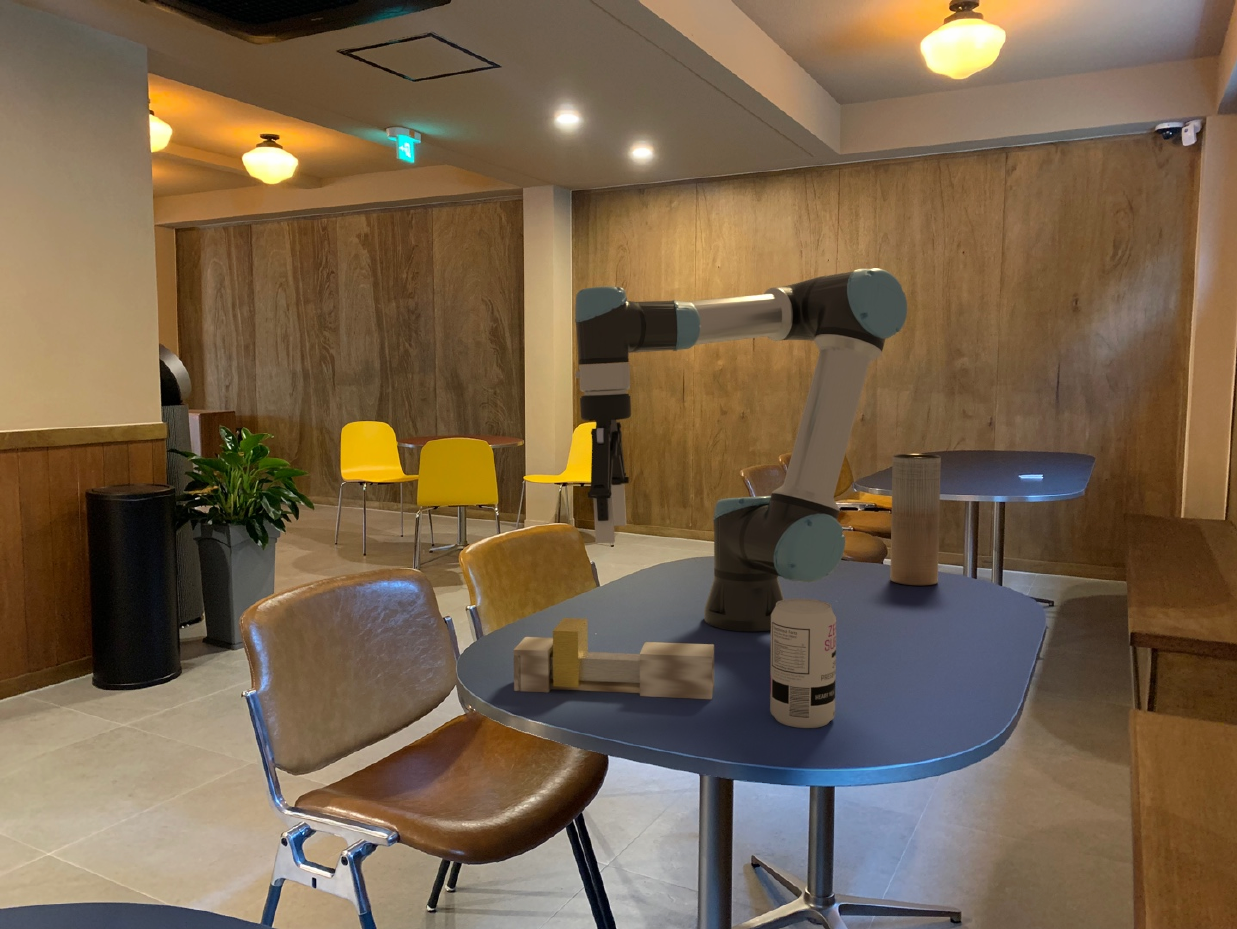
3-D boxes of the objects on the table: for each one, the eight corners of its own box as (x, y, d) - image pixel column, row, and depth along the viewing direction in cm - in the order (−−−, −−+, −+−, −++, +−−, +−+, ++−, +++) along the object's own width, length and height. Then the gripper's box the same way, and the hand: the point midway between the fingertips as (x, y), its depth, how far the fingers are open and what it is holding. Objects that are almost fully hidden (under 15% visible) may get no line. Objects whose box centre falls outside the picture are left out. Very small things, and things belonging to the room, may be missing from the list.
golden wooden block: (663, 675, 132) (663, 621, 132) (657, 691, 125) (657, 634, 125) (533, 669, 135) (532, 617, 135) (521, 684, 128) (520, 629, 128)
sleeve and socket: (714, 684, 131) (714, 644, 130) (711, 700, 124) (711, 657, 124) (526, 676, 135) (525, 636, 135) (514, 690, 129) (513, 649, 128)
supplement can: (763, 708, 121) (764, 598, 120) (823, 706, 122) (825, 596, 121) (779, 731, 113) (780, 613, 112) (843, 728, 114) (845, 611, 113)
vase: (944, 586, 194) (947, 457, 191) (897, 586, 194) (900, 457, 192) (929, 576, 204) (931, 453, 201) (884, 576, 204) (887, 453, 201)
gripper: (593, 391, 147) (599, 520, 150) (564, 397, 123) (572, 551, 125) (639, 389, 146) (644, 518, 149) (619, 394, 122) (626, 550, 124)
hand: (611, 533), depth 137 cm, fingers open, 13 cm apart
